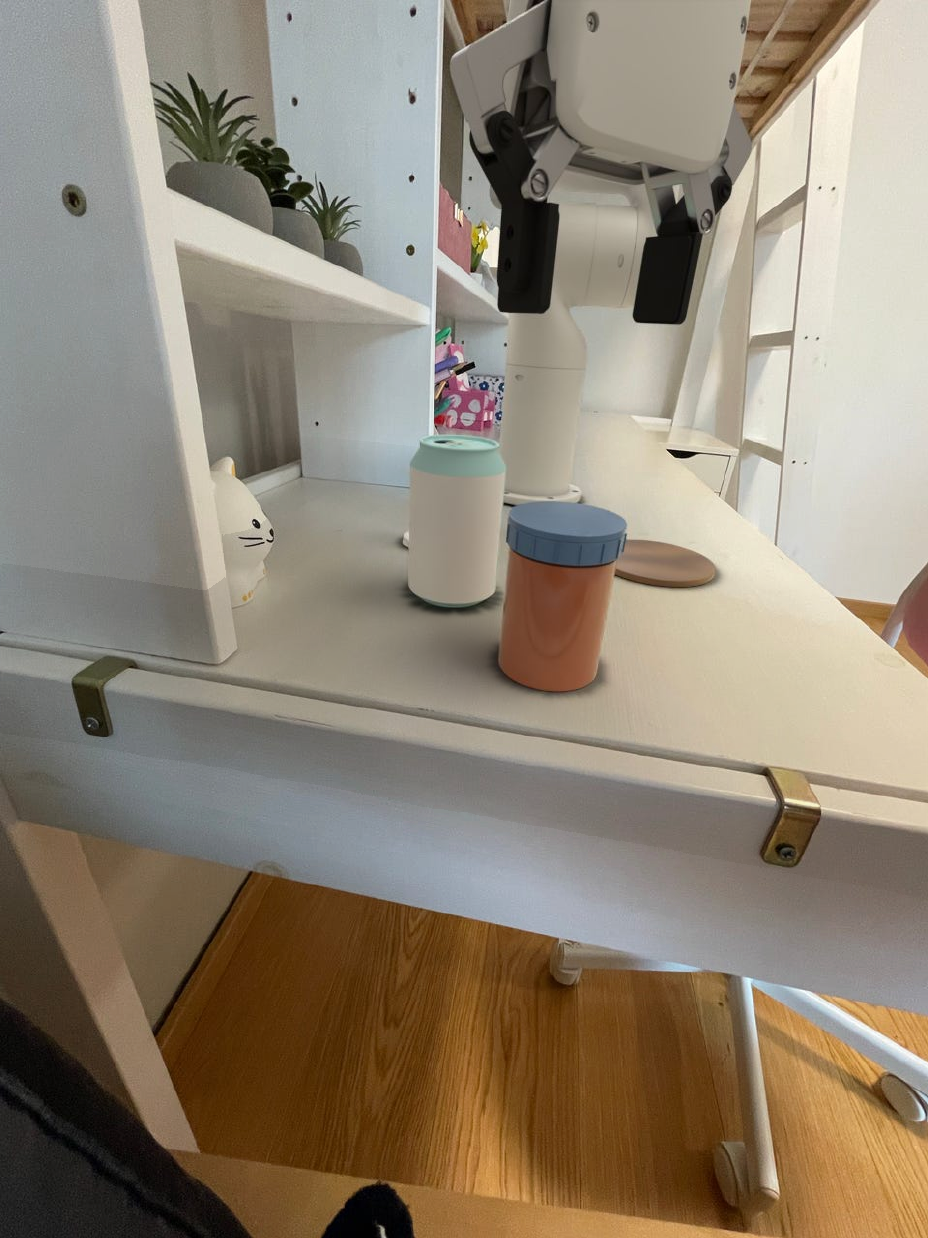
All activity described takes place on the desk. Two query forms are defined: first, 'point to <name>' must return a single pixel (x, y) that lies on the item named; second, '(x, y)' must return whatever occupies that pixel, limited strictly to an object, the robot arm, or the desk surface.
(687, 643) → the desk surface
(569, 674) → the jar
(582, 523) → the lid
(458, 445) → the can
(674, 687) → the desk surface
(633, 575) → the coaster
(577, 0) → the robot arm
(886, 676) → the desk surface
